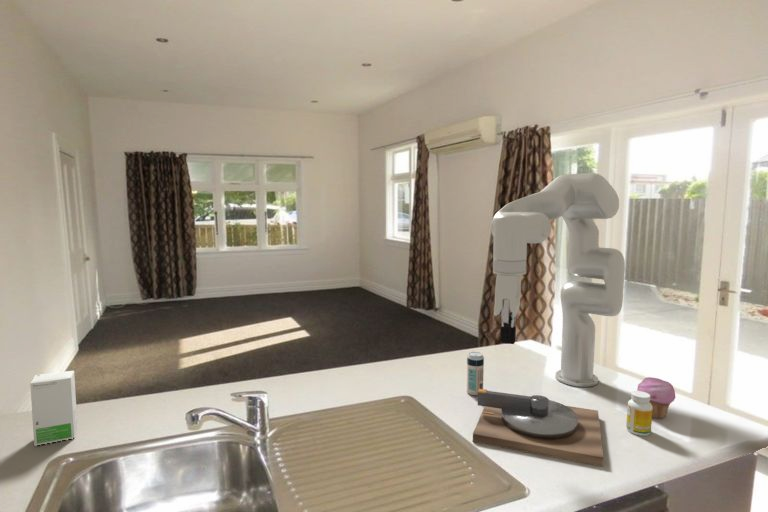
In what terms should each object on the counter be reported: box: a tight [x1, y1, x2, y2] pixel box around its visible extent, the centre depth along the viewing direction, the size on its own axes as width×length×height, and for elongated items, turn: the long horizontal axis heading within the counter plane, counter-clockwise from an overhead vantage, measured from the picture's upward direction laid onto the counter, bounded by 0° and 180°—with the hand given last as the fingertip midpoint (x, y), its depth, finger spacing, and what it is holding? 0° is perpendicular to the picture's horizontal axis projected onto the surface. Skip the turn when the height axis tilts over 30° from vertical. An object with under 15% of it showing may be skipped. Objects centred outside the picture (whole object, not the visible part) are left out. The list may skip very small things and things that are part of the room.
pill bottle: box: [466, 351, 485, 397], centre depth 136 cm, size 5×5×12 cm
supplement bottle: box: [625, 390, 653, 437], centre depth 113 cm, size 5×5×10 cm
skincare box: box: [30, 370, 78, 447], centre depth 112 cm, size 8×7×16 cm
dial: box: [477, 388, 578, 439], centre depth 116 cm, size 24×18×6 cm
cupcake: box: [636, 376, 676, 419], centre depth 121 cm, size 9×9×10 cm
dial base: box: [472, 405, 604, 467], centre depth 115 cm, size 24×28×2 cm
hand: (508, 342), depth 110 cm, fingers closed
